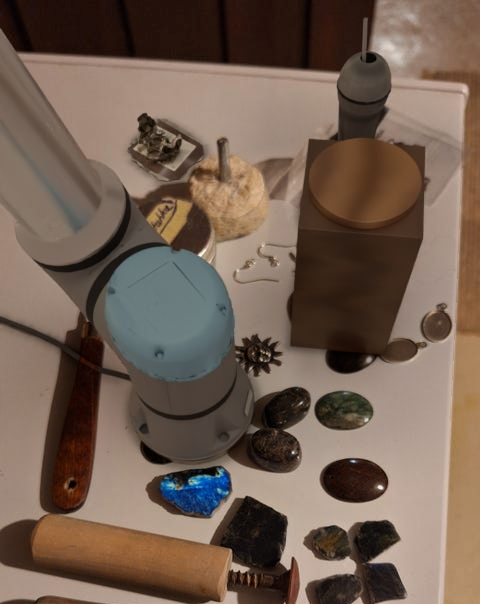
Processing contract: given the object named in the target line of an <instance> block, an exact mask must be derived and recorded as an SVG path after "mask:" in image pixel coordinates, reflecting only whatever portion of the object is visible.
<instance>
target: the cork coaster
mask: <svg viewBox="0 0 480 604" xmlns="http://www.w3.org/2000/svg"><path fill="white" fill-rule="evenodd" d="M393 144H394V143H390V142H388V141H385V140H382V139H377V138H374V139H371V138H355V139H349V140H344V141H341V142H338V143H336V144H333V145H332V146H330V147H328V148H327V149H325V150H324V151H323V152H322V153H320V154H319V155H318V157H317V158H316V159H315V161H314V162H313V164H312V166H311V169H310V173H309V185H308V187H309V193H310V196H311V199H312V201H313V203H314V204H315V206H316V207H317V209H318V210H319V211H320V212H321V213H322V214H324V215H325V216H326V217H327V218H329V219H331V220H332V221H334V222H336V223H338V224H341V225H344V226H347V227H351V228H358V229H375V228H381V227H385V226H388V225H391V224H393V223H396V222H397V221H399V220H401V219H402V218H404V217H405V216H406V215H407V214H408V213H409V212H410V211H411V210H412V209H413V207H414V206H415V204H416V202H417V200H418V197H419V193H420V190H421V184H422V183H421V175H420V171H419V169H418V166H417V165H416V163H415V161H414V160H413V159H412V158H411V157H410V156H409V155H408V154H407V153H406V152H405V151H403V150H402V149H401V148H399V147H397V146H395V145H393Z"/></svg>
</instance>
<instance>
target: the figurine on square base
mask: <svg viewBox="0 0 480 604" xmlns="http://www.w3.org/2000/svg"><path fill="white" fill-rule="evenodd" d="M136 121H137V122H138V127H137V131H138V133H140V134H139V135H138V136H137V137H136V138H135V139H133V141H131V143H129V145H128V147H127V150H128V152H129V153H130V154H131V160H132V161H134V162H136V163H137V165H138V166H139V167H141V168H143V169H144V171H145V172H147V173H148V174H150V175H153V176H154V177H156V178H157V180H158V181H167V182H169V181H172V180H181V179H183V178H184V177H185V175H186V174H187V172H188V170H189V169H190V168H191V167H192V166H193V165H194V164H195V163H198V162H200V161H202V160H203V158H204V156H205V153H204V149H203V148H204V147H203V145H202V144H201V142H200V140H199V138H197V137H196V136H194V135H193V134H191V132H188V131H187V130H186V129H185V128H183V127H180V126H179V125H178V124H176V123H174V122H171V121H170V120H168V118H157V119H156V120H155V119H154V118H153V117H151V116H150V115H148V113H147V112H143V113H141V114H140V115H139V116H137V119H136Z"/></svg>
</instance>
